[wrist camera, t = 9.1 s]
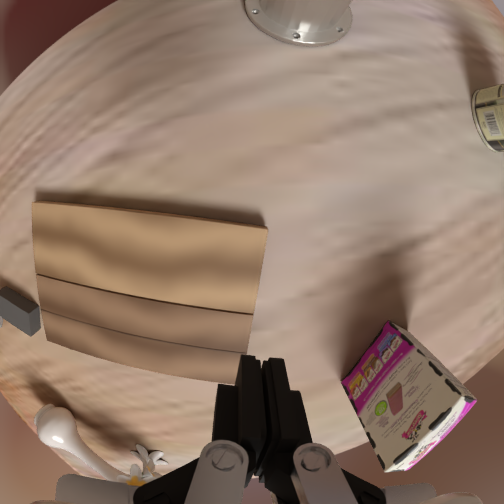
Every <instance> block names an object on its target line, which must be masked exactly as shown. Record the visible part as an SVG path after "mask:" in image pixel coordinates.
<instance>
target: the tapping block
mask: <svg viewBox="0 0 504 504" xmlns="http://www.w3.org/2000/svg"><path fill="white" fill-rule="evenodd" d="M0 316H1V317H2V318H4V319H5V320H6V321H8V322H9V323H11V324H12V325H14V326H15V327H17V328H18V329H20V330H21V331H23V332H24V333H26V334H27V335H29V336H32V335H34V334H35V333H36V332H37V331H38V330H39V329H41V326H40V310H39V306H38V305H37V304H35V303H33V302H31V301H30V300H28V299H26V298H25V297H23V296H21V295H20V294H18V293H16V292H15V291H13V290H11V289H10V288H8V287H7V286H6V287H4V288H2V289H1V290H0Z"/></svg>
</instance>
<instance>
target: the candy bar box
mask: <svg viewBox="0 0 504 504" xmlns="http://www.w3.org/2000/svg"><path fill="white" fill-rule="evenodd" d="M341 384H342V386H343V388H344V390H345V392H346V394H347V396H348V398H349V400H350V402H351V404H352V406H353V408H354V410H355V412H356V414H357V416H358V418H359V420H360V422H361V424H362V426H363V428H364V430H365V432H366V435H367V437H368V439H369V441H370V443H371V445H372V447H373V449H374V451H375V453H376V455H377V457H378V460H379V461H380V464H381V466H382V468H383V470H384V472H393V471H401V470H403V471H406V470H409V469H410V468H411V467H412V466H413V465H415V464H416V463H417V462H418V461H419V460H421V459H422V458H423V457H424V456H425V455H426V454H428V453H429V452H430V451H431V450H432V449H433V448H434V447H435V446H436V445H437V444H438V443H439V442H440V441H441V440H442V439H443V438H444V437H445V436H446V435H447V434H448V433H449V432H450V431H451V430H452V429H453V428H454V427H455V426H456V425H457V424H458V422H459V421H460V420H461V419H462V418H463V417H464V416H465V415H466V413H467V412H468V411H469V410H470V409H471V407H472V406H473V405H474V404H475V403H476V401H477V399H476V398H475V397H474V396H473V395H472V394H471V393H470V392H469V391H468V389H467V388H465V386H464V385H462V383H461V382H460V381H459V380H458V379H457V378H456V377H455V376H454V375H453V374H452V373H451V372H450V371H449V370H448V369H447V368H446V367H445V366H444V365H443V364H442V363H441V362H440V361H439V360H438V359H437V358H436V357H435V356H434V355H433V354H432V353H431V352H430V351H429V350H428V349H427V348H426V347H425V346H423V345H422V344H421V343H420V342H419V341H418V340H417V339H416V338H415V337H414V336H413V335H412V334H411V333H410V332H408V331H407V330H405V329H403V328H401V327H399V326H398V325H396V324H394V323H392V322H391V321H388V322H387V323H386V324H385V326H384V327H383V328H382V330H381V331H380V333H379V334H378V336H377V337H376V338H375V340H374V341H373V343H372V344H371V345H370V347H369V348H368V350H367V351H366V352H365V354H364V355H363V356H362V358H361V359H360V360H359V361H358V363H357V364H356V365H355V367H354V368H353V369H352V370H351V372H350V373H349V374H348V375H347V377H346V378H345V379H344V380H343V381H342V382H341Z"/></svg>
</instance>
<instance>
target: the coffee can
mask: <svg viewBox="0 0 504 504" xmlns="http://www.w3.org/2000/svg"><path fill="white" fill-rule="evenodd" d="M472 113H473V118H474V121H475V125H476V128H477V130H478V132H479V134H480V136H481V138H482V140H483V142H484V143H485V144H486V146H487V147H488V148H489V149H491V150H492V151H494V152H500V151H504V84H501V85H497V86H493V87H489V88H485V89H481V90H477V91H476V92H475V93H474V95H473V98H472Z"/></svg>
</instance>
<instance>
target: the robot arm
mask: <svg viewBox="0 0 504 504" xmlns="http://www.w3.org/2000/svg"><path fill="white" fill-rule="evenodd" d="M351 2H352V0H245V9H246V12H247V15H248V17H249V18H250V20H251V21H252V22H253V23H254V24H255V25H256V26H257V27H258V28H259V29H260V30H262V31H263V32H264V33H266V34H268V35H269V36H271V37H273V38H275V39H278V40H280V41H283V42H286V43H290V44H294V45H299V46H308V47H309V46H324V45H329V44H331V43H334V42H336V41H338V40H340V39H341V38H342V37H343V36H344V35H345V34H346V33H347V32H348V30H349V29H350V27H351V24H352V13H351V9H350V7H349V5H350V3H351ZM253 473H254V476H259V482H260V483H265V488H267V489H268V490H270V492H271V498H272V502H273V504H483V502H482V501H481V500H480V499H479V498H478V497H477V496H476V495H474V494H471V493H464V492H457V493H449V494H445V495H441V496H437V494H436V491H435V489H434V487H433V486H432V485H430V484H428V483H419V484H411V485H400V486H386V487H384V488H382V489H380V488H378V487H377V486H374V485H372V484H370V483H368V482H366V481H364V480H362V479H360V478H358V477H356V476H354V475H353V474H351V473H349V472H347V471H345V470H343V469H342V468H340V466H339V464H338V462H337V460H336V458H335V456H334V454H333V453H332V451H331V450H330V449H329V448H327V447H326V446H324V445H322V444H317V443H313V442H312V438H311V434H310V430H309V426H308V421H307V417H306V413H305V409H304V405H303V401H302V397H301V393H300V392H299V391H294V390H290V386H289V382H288V377H287V372H286V367H285V362H284V359H282V358H269V359H268V361H265V360H264V361H263V364H262V368H261V363H260V360H256V358H255V356H251V355H243V354H241V357H240V361H239V366H238V371H237V376H236V381H235V386H232V385H224V384H218V388H217V395H216V402H215V411H214V421H213V432H212V442H211V443H208V444H207V445H206V446H205V447H204V448H203V450H202V452H201V455H200V457H199V458H197V459H195V460H193V461H191V462H190V463H188V464H186V465H184V466H182V467H180V468H178V469H176V470H174V471H172V472H170V473H168V474H166V475H164V476H161V477H159V478H157V479H155V480H153V481H150V482H148V483H146V484H143V485H142V486H134V485H128V484H127V483H121V482H114V481H107V480H101V479H95V478H90V477H85V476H80V475H76V474H67V475H63V476H62V477H61V478H59V480H58V482H57V486H56V497H55V501H54V500H40V501H35V502H33V503H31V504H241V502H242V497H243V491H244V488H246V487H247V486H248V483H249V482H250V479H251V477H252V475H253Z"/></svg>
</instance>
